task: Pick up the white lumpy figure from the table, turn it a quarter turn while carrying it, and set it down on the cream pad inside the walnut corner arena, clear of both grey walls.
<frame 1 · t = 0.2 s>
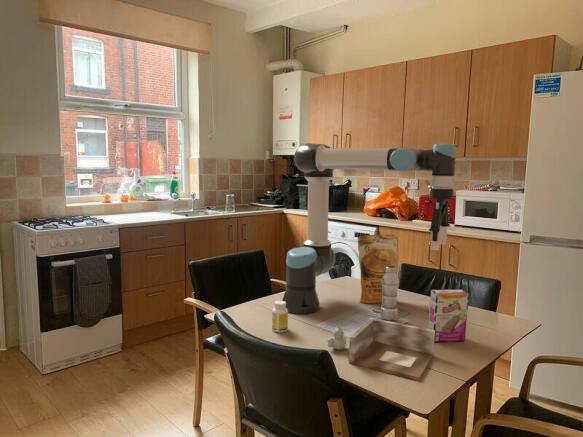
hand: (438, 247, 157), 28 cm above the table, tool pointing down, fingers open, 13 cm apart
supplement bottle: (279, 330, 150), on the table
plastic bottle: (388, 319, 162), on the table
arena: (392, 359, 129), on the table
pancake mix bag: (376, 301, 183), on the table
candy bar box: (446, 340, 144), on the table
white lumpy figure: (336, 349, 135), on the table
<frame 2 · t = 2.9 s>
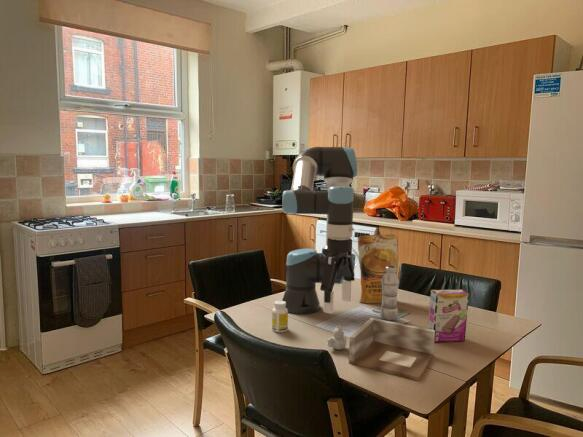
hand: (337, 306, 133), 14 cm above the table, tool pointing down, fingers open, 13 cm apart
nothing on the table moved.
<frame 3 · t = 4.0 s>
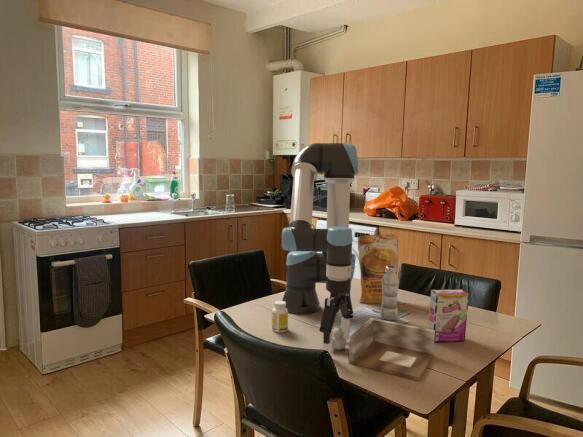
hand: (336, 345, 135), 1 cm above the table, tool pointing down, fingers open, 12 cm apart
nothing on the table moved.
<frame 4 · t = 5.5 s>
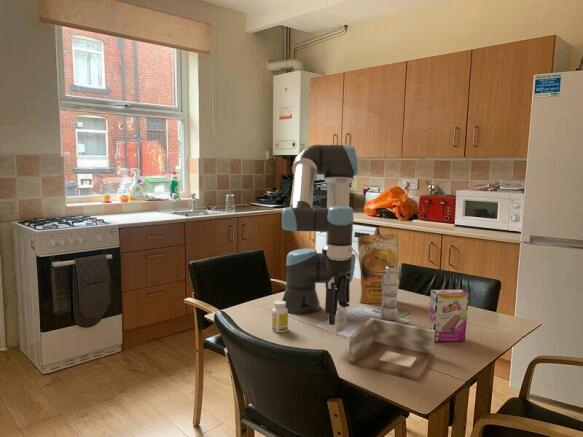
hand: (336, 329, 135), 6 cm above the table, tool pointing down, fingers closed on white lumpy figure, 6 cm apart
white lumpy figure: (336, 331, 135), point 5 cm above the table, touching gripper
everything else where it was.
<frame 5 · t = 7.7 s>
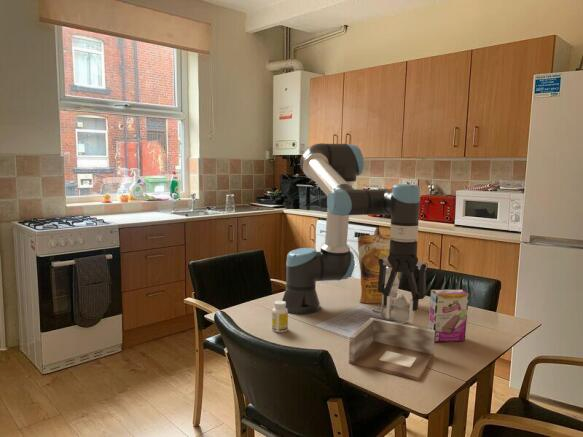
hand: (399, 318, 125), 13 cm above the table, tool pointing down, fingers closed on white lumpy figure, 6 cm apart
white lumpy figure: (399, 320, 125), point 13 cm above the table, touching gripper
everything else where it was.
when the fingers open (2 cm above the table, at t = 9.9 s): white lumpy figure stays where it is, resting on arena.
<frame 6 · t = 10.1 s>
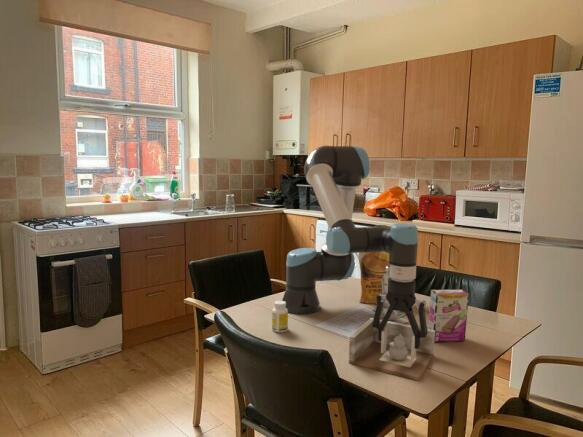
hand: (398, 354, 126), 2 cm above the table, tool pointing down, fingers open, 8 cm apart
white lumpy figure: (397, 359, 127), point 1 cm above the table, touching arena
everything else where it was.
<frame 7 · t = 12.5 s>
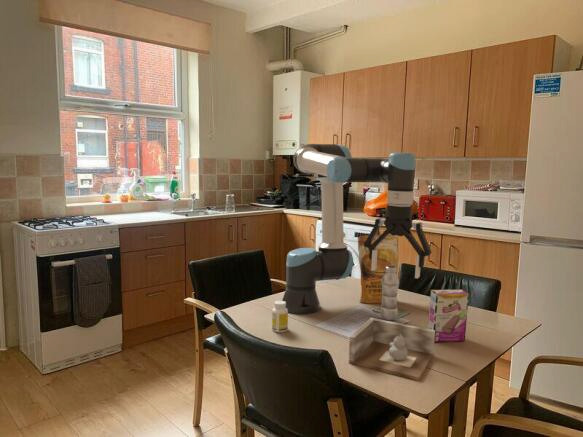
hand: (395, 273, 133), 24 cm above the table, tool pointing down, fingers open, 13 cm apart
nothing on the table moved.
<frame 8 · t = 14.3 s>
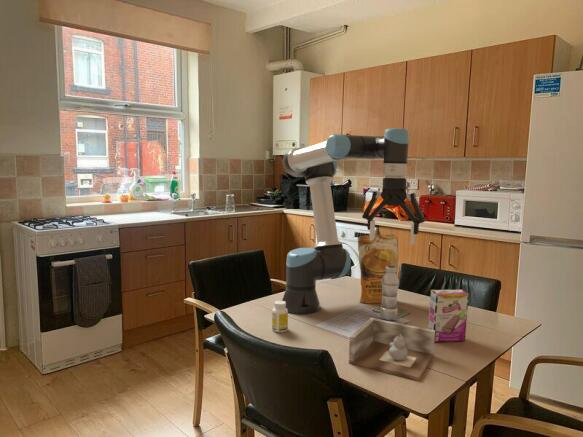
hand: (391, 242, 143), 32 cm above the table, tool pointing down, fingers open, 13 cm apart
nothing on the table moved.
at the end: white lumpy figure inside the target area (0.2 cm from its centre), point 0.9 cm above the table; white lumpy figure tilted 0°; the gripper is holding nothing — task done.
